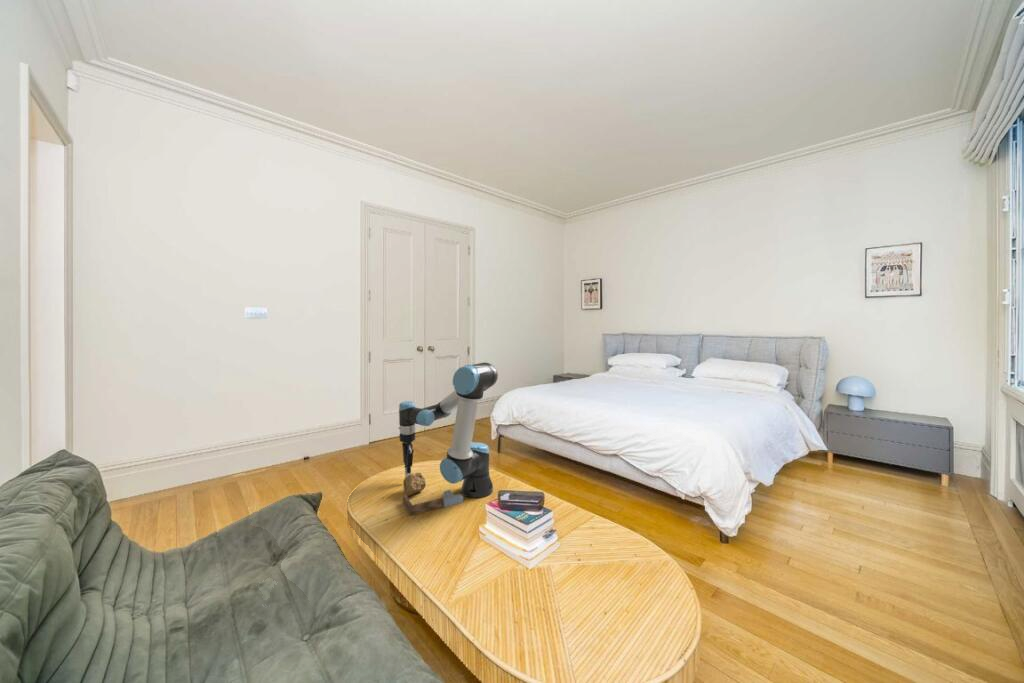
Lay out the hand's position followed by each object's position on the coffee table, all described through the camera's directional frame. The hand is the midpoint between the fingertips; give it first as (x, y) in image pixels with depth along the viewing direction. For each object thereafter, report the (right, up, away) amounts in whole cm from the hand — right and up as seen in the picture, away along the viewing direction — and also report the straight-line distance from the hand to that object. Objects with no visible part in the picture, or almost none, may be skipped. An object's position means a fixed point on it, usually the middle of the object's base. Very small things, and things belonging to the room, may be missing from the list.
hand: (408, 478), depth 198 cm
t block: (+24, -4, -17) cm, 30 cm away
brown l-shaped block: (+12, -5, -21) cm, 25 cm away
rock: (+6, -4, -10) cm, 13 cm away
